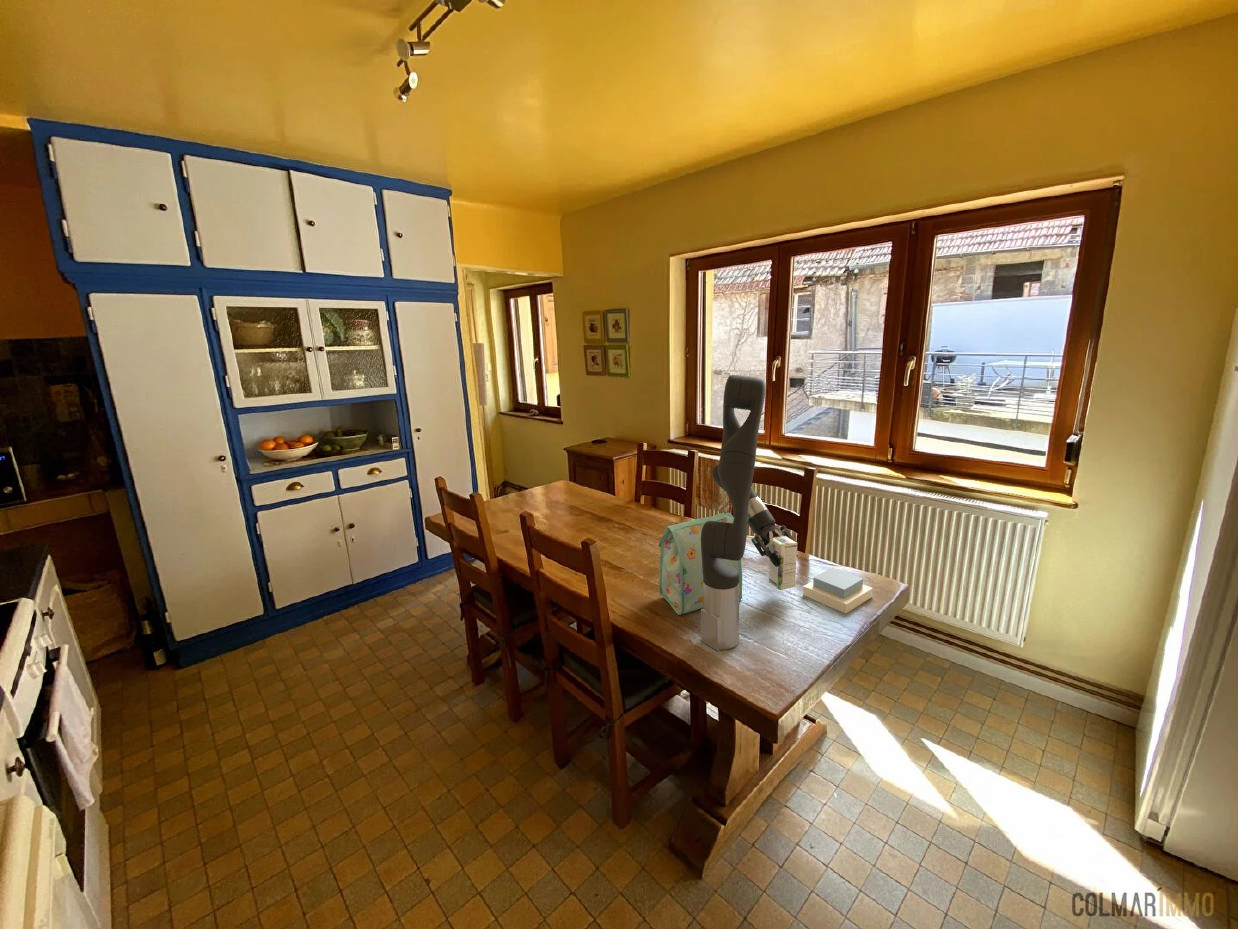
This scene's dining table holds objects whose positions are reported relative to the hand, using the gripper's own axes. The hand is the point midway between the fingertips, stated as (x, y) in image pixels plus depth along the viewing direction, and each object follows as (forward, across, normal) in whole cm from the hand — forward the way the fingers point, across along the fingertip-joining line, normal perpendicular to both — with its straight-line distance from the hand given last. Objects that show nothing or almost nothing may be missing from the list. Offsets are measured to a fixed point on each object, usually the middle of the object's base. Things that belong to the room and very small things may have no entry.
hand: (787, 561), depth 150 cm
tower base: (+15, +13, +3) cm, 20 cm away
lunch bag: (-3, -19, +22) cm, 29 cm away
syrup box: (+5, 0, +7) cm, 8 cm away
